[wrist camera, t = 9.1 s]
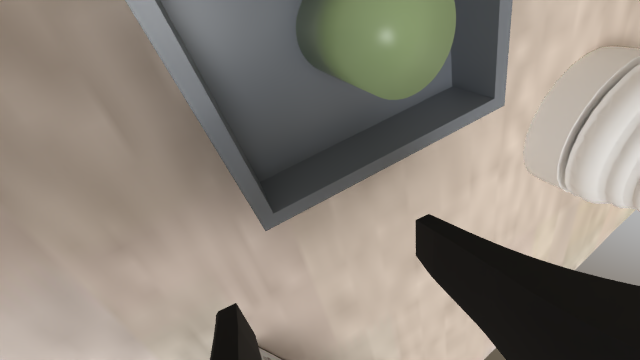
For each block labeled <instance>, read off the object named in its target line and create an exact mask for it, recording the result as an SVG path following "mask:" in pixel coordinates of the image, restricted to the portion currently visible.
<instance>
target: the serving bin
mask: <svg viewBox="0 0 640 360" xmlns="http://www.w3.org/2000/svg"><path fill="white" fill-rule="evenodd" d="M125 1H126V2H127V4H128V6H129V7H130V9H131V11H132V12H133V14H134V16H135V17H136V19H137V21H138V22H139V24H140V25H141V27H142V29H143V30H144V32H145V34H146V35H147V37H148V39H149V40H150V42H151V44H152V45H153V47H154V48H155V50H156V52H157V53H158V55H159V57H160V58H161V60H162V62H163V63H164V65H165V67H166V68H167V70H168V71H169V73H170V75H171V76H172V78H173V80H174V81H175V83H176V85H177V86H178V88H179V90H180V91H181V93H182V94H183V96H184V98H185V99H186V101H187V103H188V104H189V106H190V108H191V109H192V111H193V113H194V114H195V116H196V117H197V119H198V121H199V122H200V124H201V126H202V127H203V129H204V131H205V132H206V134H207V136H208V137H209V139H210V140H211V142H212V144H213V145H214V147H215V149H216V150H217V152H218V154H219V155H220V157H221V159H222V160H223V162H224V163H225V165H226V167H227V168H228V170H229V172H230V173H231V175H232V177H233V178H234V180H235V182H236V183H237V185H238V186H239V188H240V190H241V191H242V193H243V195H244V196H245V198H246V200H247V201H248V203H249V205H250V206H251V208H252V210H253V211H254V213H255V214H256V216H257V218H258V219H259V221H260V223H261V224H262V226H263V228H264V229H265V231H267V230H269V229H271V228H273V227H275V226H276V225H278V224H280V223H282V222H284V221H286V220H288V219H290V218H292V217H294V216H295V215H297V214H299V213H301V212H303V211H305V210H307V209H309V208H311V207H313V206H314V205H316V204H318V203H320V202H322V201H324V200H326V199H328V198H330V197H331V196H333V195H335V194H337V193H339V192H341V191H343V190H345V189H347V188H349V187H350V186H352V185H354V184H356V183H358V182H360V181H362V180H364V179H366V178H368V177H369V176H371V175H373V174H375V173H377V172H379V171H381V170H383V169H385V168H387V167H388V166H390V165H392V164H394V163H396V162H398V161H400V160H402V159H404V158H406V157H407V156H409V155H411V154H413V153H415V152H417V151H419V150H421V149H423V148H424V147H426V146H428V145H430V144H432V143H434V142H436V141H438V140H440V139H442V138H443V137H445V136H447V135H449V134H451V133H453V132H455V131H457V130H459V129H461V128H462V127H464V126H466V125H468V124H470V123H472V122H474V121H476V120H478V119H480V118H481V117H483V116H485V115H487V114H489V113H491V112H493V111H495V110H497V109H499V108H500V107H502V106H504V103H505V90H506V78H507V65H508V52H509V39H510V26H511V13H512V0H454V2H455V8H456V27H455V34H454V39H453V43H452V46H451V49H450V52H449V54H448V57H447V59H446V61H445V63H444V65H443V66H442V68H441V70H440V71H439V72H438V74H437V75H436V76H435V78H434V79H433V80H432V81H431V82H430V83H429V84H428V85H427V86H426V87H425V88H423V89H422V90H421V91H419V92H418V93H416V94H414V95H412V96H410V97H407V98H404V99H399V100H388V99H383V98H380V97H378V96H376V95H373V94H371V93H369V92H367V91H364V90H362V89H360V88H358V87H356V86H353V85H351V84H349V83H347V82H345V81H342V80H340V79H338V78H336V77H334V76H331V75H329V74H327V73H325V72H323V71H320V70H318V69H317V68H315V67H314V66H312V65H311V64H310V63H309V62H308V61H307V60H306V58H305V57H304V56H303V54H302V52H301V50H300V47H299V45H298V41H297V36H296V19H297V14H298V10H299V7H300V5H301V3H302V1H303V0H125Z"/></svg>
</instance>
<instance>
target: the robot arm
mask: <svg viewBox="0 0 640 360" xmlns="http://www.w3.org/2000/svg"><path fill="white" fill-rule="evenodd" d="M416 256H417V257H418V259H419V260H420V262H421V263H422V264H423V266H424V267H425V268H426V270H427V271H428V272H429V274H430V275H431V276H432V277H433V278H434V280H435V281H436V282H437V283H438V284H439V285H440V286H441V287H442V288H443V289H444V290H445V291H446V292H447V293H448V295H449V296H450V297H451V298H452V299H453V300H454V301H455V302H456V303H457V304H458V305H459V306H460V307H461V308H462V309H463V310H464V311H465V312H466V313H467V314H468V315H469V316H470V318H471V319H472V320H473V321H474V322H475V323H476V324H477V325H478V326H479V327H480V328H481V329H482V331H483V332H484V333H485V334H486V335H487V336H488V338H489V339H490V340H491V341H492V343H493V344H494V345H495V346H496V348H497V349H498V350H499V351H500V353H501V354H502V355H503V356H504V358H505V359H506V360H640V286H636V285H631V284H627V283H623V282H618V281H614V280H610V279H605V278H601V277H597V276H593V275H589V274H586V273H582V272H578V271H575V270H571V269H568V268H564V267H561V266H558V265H554V264H551V263H548V262H545V261H542V260H539V259H536V258H533V257H530V256H527V255H524V254H522V253H519V252H516V251H514V250H511V249H508V248H506V247H503V246H501V245H498V244H496V243H493V242H491V241H488V240H486V239H484V238H481V237H479V236H477V235H474V234H472V233H470V232H467V231H465V230H463V229H461V228H459V227H456V226H454V225H452V224H450V223H448V222H445V221H443V220H441V219H439V218H437V217H434V216H432V215H430V214H428V215H426V216H424V217H421V218H419V219H417V220H416ZM210 360H262V358H261V354H260V350H259V347H258V343H257V340H256V336H255V334H254V332H253V330H252V329H251V327H250V325H249V324H248V322H247V320H246V319H245V317H244V315H243V314H242V312H241V310H240V309H239V307H238V305H237V304H236V303H235V304H233V305H231V306H229V307H227V308H225V309H222V310H220V311H218V313H217V315H216V324H215V332H214V339H213V345H212V351H211V357H210Z"/></svg>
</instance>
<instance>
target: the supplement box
mask: <svg viewBox="0 0 640 360" xmlns="http://www.w3.org/2000/svg"><path fill="white" fill-rule="evenodd" d="M259 350H260V354H261V358H262V360H282V359H280V358H278V357H276V356H274V355H272V354H270V353H268V352H266V351H264V350H262V349H261V348H259Z"/></svg>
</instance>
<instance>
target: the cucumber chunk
mask: <svg viewBox="0 0 640 360" xmlns="http://www.w3.org/2000/svg"><path fill="white" fill-rule="evenodd" d="M455 27H456V8H455V2H454V0H303V1H302V3H301V5H300V7H299V10H298V14H297V19H296V36H297V41H298V45H299V47H300V50H301V52H302V54H303V56H304V57H305V58H306V60H307V61H308V62H309V63H310V64H311V65H312V66H314V67H315V68H317V69H318V70H320V71H323V72H325V73H327V74H329V75H331V76H334V77H336V78H338V79H340V80H342V81H345V82H347V83H349V84H351V85H353V86H356V87H358V88H360V89H362V90H364V91H367V92H369V93H371V94H373V95H376V96H378V97H380V98H383V99H388V100H399V99H404V98H407V97H410V96H412V95H414V94H416V93H418V92H419V91H421V90H422V89H423V88H425V87H426V86H427V85H428V84H429V83H430V82H431V81H432V80H433V79H434V78H435V76H436V75H437V74H438V72H439V71H440V70H441V68H442V66H443V65H444V63H445V61H446V59H447V57H448V54H449V52H450V49H451V46H452V43H453V39H454V34H455Z"/></svg>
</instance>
